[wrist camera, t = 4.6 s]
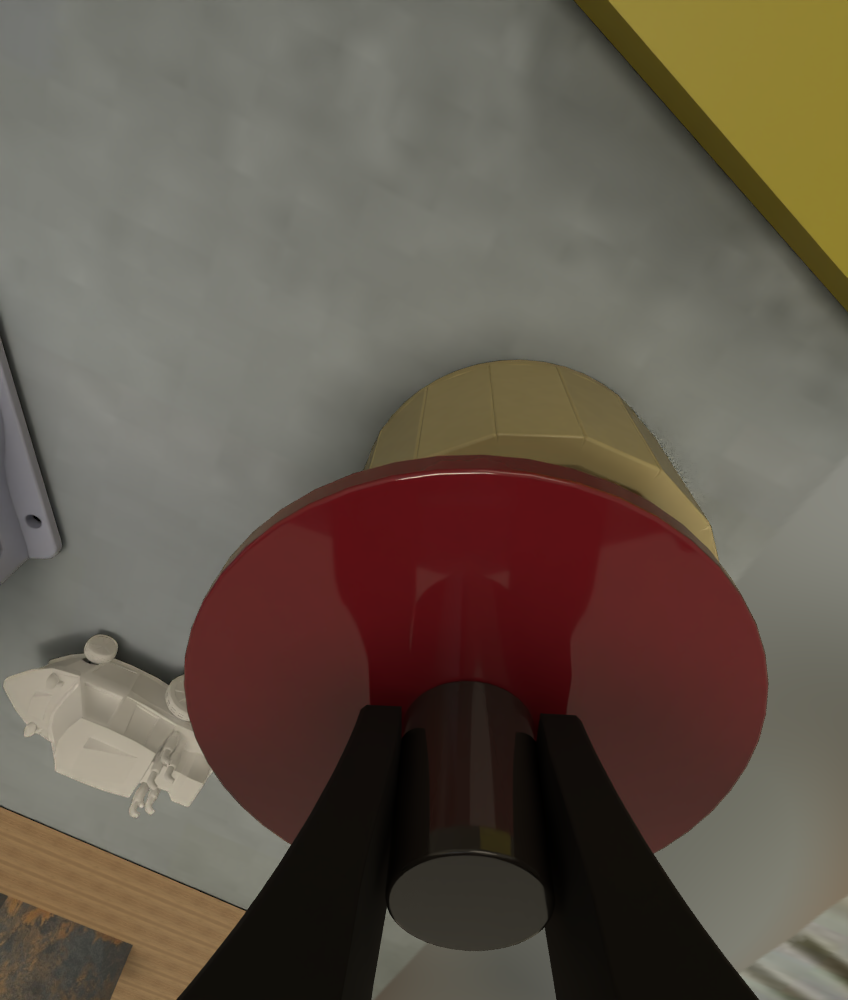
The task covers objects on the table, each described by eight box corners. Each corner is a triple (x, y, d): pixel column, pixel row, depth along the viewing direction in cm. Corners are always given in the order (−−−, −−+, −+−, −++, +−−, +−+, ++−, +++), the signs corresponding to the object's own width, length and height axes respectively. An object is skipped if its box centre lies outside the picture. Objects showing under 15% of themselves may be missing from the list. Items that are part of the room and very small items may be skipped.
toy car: (205, 765, 28) (165, 859, 24) (19, 684, 26) (-53, 772, 22) (251, 696, 26) (216, 788, 22) (53, 604, 24) (-21, 687, 20)
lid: (681, 858, 15) (754, 1098, 12) (239, 832, 16) (167, 1056, 12) (816, 447, 10) (1026, 630, 6) (161, 426, 11) (-8, 585, 7)
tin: (633, 626, 23) (678, 755, 18) (366, 614, 23) (341, 737, 19) (689, 363, 18) (768, 442, 14) (357, 354, 19) (319, 427, 14)
